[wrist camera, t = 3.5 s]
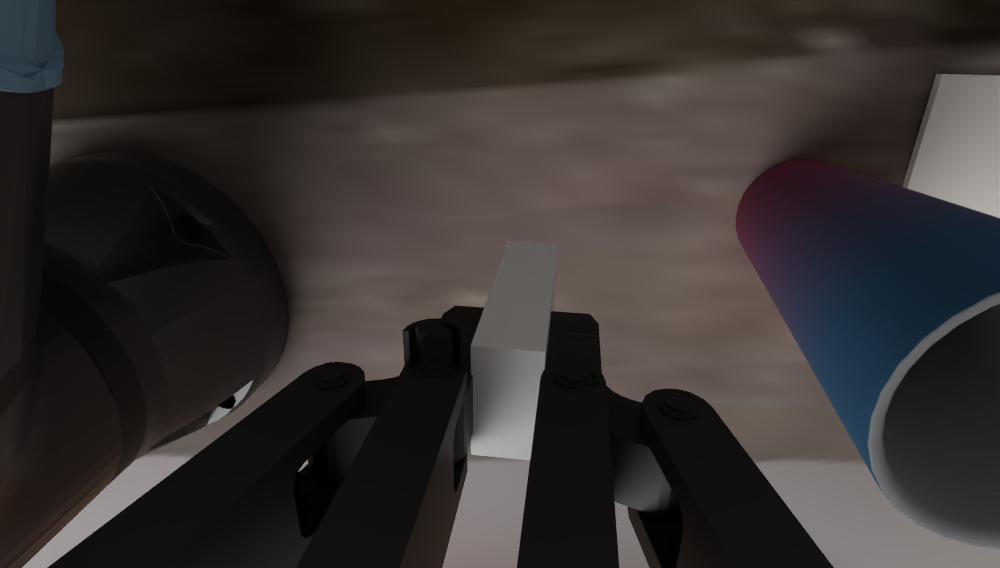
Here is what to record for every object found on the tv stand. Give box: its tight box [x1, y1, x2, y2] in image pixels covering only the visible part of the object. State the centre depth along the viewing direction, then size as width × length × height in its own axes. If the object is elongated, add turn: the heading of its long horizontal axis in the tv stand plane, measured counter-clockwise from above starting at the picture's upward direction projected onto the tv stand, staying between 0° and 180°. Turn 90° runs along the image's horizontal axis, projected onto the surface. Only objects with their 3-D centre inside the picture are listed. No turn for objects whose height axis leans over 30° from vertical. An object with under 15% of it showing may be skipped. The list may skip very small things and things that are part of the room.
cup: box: [736, 159, 1000, 549], centre depth 18 cm, size 7×7×15 cm
